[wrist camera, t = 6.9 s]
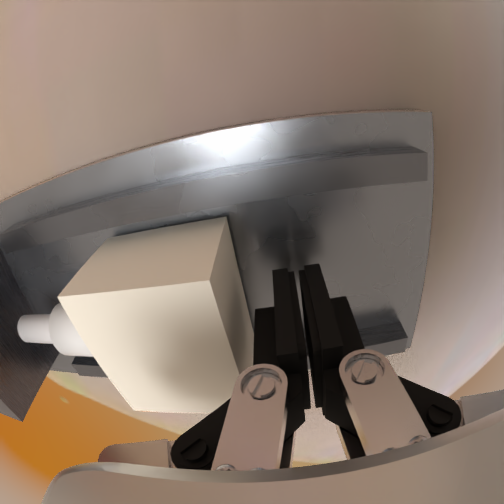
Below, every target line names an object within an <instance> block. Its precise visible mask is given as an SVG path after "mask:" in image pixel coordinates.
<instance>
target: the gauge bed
mask: <svg viewBox="0 0 504 504" xmlns="http://www.w3.org/2000/svg"><path fill="white" fill-rule="evenodd" d="M433 183H434V143H433V121H432V112H428V111H422V110H365V111H347V112H333V113H321V114H311V115H302V116H294V117H286V118H278V119H271V120H264V121H258V122H252V123H246V124H240V125H235V126H229V127H224V128H219V129H214V130H209V131H205V132H200V133H196V134H191V135H187V136H183V137H179V138H175V139H171V140H167V141H163V142H159V143H155V144H152V145H148V146H144V147H141V148H138V149H134V150H131V151H127V152H124V153H121V154H118V155H115V156H111V157H108V158H105V159H102V160H99V161H96V162H94V163H91V164H88V165H85V166H82V167H80V168H77V169H74V170H71V171H69V172H66V173H64V174H61V175H58V176H56V177H53V178H51V179H49V180H46V181H44V182H41V183H39V184H37V185H34V186H32V187H30V188H27V189H25V190H23V191H21V192H19V193H16V194H14V195H12V196H10V197H8V198H6V199H4V200H2V201H0V413H2V414H4V415H7V416H9V417H12V418H14V419H17V420H19V421H22V422H23V420H24V418H25V415H26V414H27V411H28V409H29V408H30V406H31V404H32V402H33V400H34V398H35V396H36V394H37V392H38V390H39V388H40V386H41V385H42V383H43V381H44V379H45V377H46V375H47V374H48V372H49V370H54V371H62V372H71V373H78V374H79V375H82V376H93V377H99V378H108V376H107V375H106V374H105V372H104V371H103V370H102V368H101V367H100V365H99V364H98V362H97V361H96V360H95V358H94V357H88V356H69V355H63V354H61V353H60V352H59V351H58V350H57V349H56V348H55V346H54V345H53V344H47V343H30V342H25V341H23V340H22V339H21V338H20V336H19V334H18V329H17V325H18V321H19V319H20V317H21V316H23V315H36V314H51V312H52V310H53V308H54V307H55V306H56V305H57V304H59V303H60V301H59V299H58V295H59V294H60V293H61V292H62V290H63V289H64V288H65V287H66V285H67V284H68V283H69V282H70V281H71V279H72V278H73V277H74V276H75V275H76V273H77V272H78V271H79V270H80V269H81V267H82V266H83V265H84V264H85V263H86V262H87V261H88V259H89V258H90V257H91V256H92V255H93V254H94V253H95V251H96V250H97V249H98V248H99V247H100V246H101V245H102V244H103V243H104V241H105V240H106V239H107V238H111V237H116V236H121V235H126V234H131V233H136V232H141V231H147V230H152V229H157V228H163V227H168V226H174V225H179V224H185V223H191V222H197V221H202V220H208V219H214V218H220V217H227V222H228V226H229V230H230V235H231V239H232V244H233V248H234V252H235V257H236V261H237V265H238V269H239V274H240V278H241V282H242V286H243V291H244V295H245V299H246V303H247V307H248V312H249V316H250V320H251V324H252V328H253V332H254V317H255V309H258V308H266V307H273V306H274V294H273V276H272V270H276V269H283V268H287V269H288V272H290V271H294V275H295V280H296V286H297V293H298V299H299V305H300V311H301V317H302V324H303V330H304V337H305V344H306V352H307V363H308V370H310V363H309V356H308V349H307V342H306V336H305V328H304V318H303V308H302V298H301V289H300V280H299V270H304V265H310V264H317V263H319V264H320V267H321V271H322V274H323V277H324V280H325V283H326V287H327V290H328V293H329V297H330V298H335V297H342V296H346V297H347V299H348V302H349V305H350V307H351V310H352V313H353V316H354V319H355V321H356V324H357V327H358V330H359V333H360V336H361V339H362V342H363V345H364V348H365V349H371V350H375V351H378V352H380V353H381V354H383V355H384V356H385V357H386V356H391V355H395V354H396V353H401V352H405V349H407V348H410V346H411V342H412V338H413V334H414V330H415V325H416V321H417V316H418V311H419V306H420V301H421V296H422V290H423V285H424V278H425V272H426V265H427V258H428V250H429V241H430V231H431V220H432V206H433Z"/></svg>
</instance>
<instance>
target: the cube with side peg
mask: <svg viewBox="0 0 504 504" xmlns="http://www.w3.org/2000/svg"><path fill="white" fill-rule="evenodd" d="M58 299H59V301H60V303H59V304H57V305H56V306H55V307H54V308H53V310H52V312H51V314H36V315H23V316H21V317H20V319H19V321H18V325H17V329H18V334H19V336H20V338H21V339H22V340H23V341H25V342H30V343H47V344H53V345H54V346H55V348H56V349H57V350H58V351H59V352H60V353H61V354H63V355H69V356H88V357H94V358H95V360H96V361H97V362H98V364H99V365H100V367H101V368H102V370H103V371H104V372H105V374H106V375H107V376H108V378H109V379H110V381H111V382H112V383H113V385H114V386H115V387H116V389H117V390H118V391H119V392H120V394H121V395H122V396H123V398H124V399H125V400H126V401H127V403H128V404H129V405H130V406H131V407H132V409H133V410H136V411H149V412H168V413H212V412H213V411H215V410H216V409H217V408H218V407H220V406H221V405H222V404H224V403H225V402H226V401H227V400H229V399H230V398H231V396H232V392H233V388H234V385H235V382H236V380H237V377H238V376H239V375H240V374H241V373H242V372H243V371H244V370H245V369H247V368H249V367H251V366H253V350H254V332H253V328H252V324H251V320H250V316H249V312H248V307H247V303H246V299H245V295H244V291H243V286H242V282H241V278H240V274H239V269H238V265H237V261H236V257H235V252H234V248H233V244H232V239H231V235H230V230H229V226H228V222H227V217H220V218H214V219H208V220H202V221H197V222H191V223H185V224H179V225H174V226H168V227H163V228H157V229H152V230H147V231H141V232H136V233H131V234H126V235H121V236H116V237H111V238H107V239H106V240H105V241H104V243H103V244H102V245H101V246H100V247H99V248H98V249H97V250H96V251H95V253H94V254H93V255H92V256H91V257H90V258H89V259H88V261H87V262H86V263H85V264H84V265H83V266H82V267H81V269H80V270H79V271H78V272H77V273H76V275H75V276H74V277H73V278H72V279H71V281H70V282H69V283H68V284H67V285H66V287H65V288H64V289H63V290H62V292H61V293H60V294H59V295H58Z"/></svg>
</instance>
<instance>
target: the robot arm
mask: <svg viewBox="0 0 504 504" xmlns="http://www.w3.org/2000/svg"><path fill="white" fill-rule="evenodd" d="M272 276H273V294H274V306H273V307H266V308H258V309H255V317H254V350H253V366H251V367H249V368H247V369H245V370H244V371H243V372H242V373H241V374H240V375H239V376H238V377H237V380H236V382H235V385H234V388H233V392H232V396H231V398H230V399H229V400H227V401H226V402H225V403H224V404H222V405H221V406H220V407H218V408H217V409H216V410H215V411H213V412H212V413H211V414H209V415H208V416H207V417H205V418H204V419H203V420H201V421H200V422H199V423H197V424H196V425H195V426H193V427H192V428H191V429H189V430H188V431H186V432H185V433H184V434H182V435H181V436H180V437H179V438H178V439H177V440H175V441H168V440H167V439H163V440H155V441H148V442H138V443H127V444H114V445H111V446H108V447H106V448H105V449H104V450H103V451H102V452H101V454H100V455H99V459H98V462H94V463H85V464H80V465H76V466H72V467H69V468H67V469H64V470H63V471H61V472H59V473H58V474H57V475H56V476H55V477H54V479H53V480H52V482H51V483H50V485H49V487H48V489H47V491H46V493H45V495H44V498H43V501H42V503H41V504H504V390H499V391H494V392H489V393H483V394H477V395H471V396H464V397H460V399H459V400H455V401H454V400H452V399H451V398H449V397H447V396H444V395H442V394H440V393H437V392H435V391H432V390H430V389H428V388H425V387H423V386H420V385H418V384H416V383H413V382H411V381H409V380H406V379H404V378H402V377H400V376H397V374H396V373H395V371H394V369H393V367H392V366H391V364H390V362H389V361H388V359H387V358H386V357H385V356H384V355H383V354H381V353H380V352H378V351H375V350H371V349H365V348H364V345H363V342H362V339H361V336H360V333H359V330H358V327H357V324H356V321H355V319H354V316H353V313H352V310H351V307H350V305H349V302H348V299H347V297H346V296H342V297H335V298H330V297H329V293H328V290H327V287H326V283H325V280H324V277H323V274H322V271H321V267H320V264H319V263H317V264H310V265H304V270H299V280H300V289H301V298H302V308H303V318H304V328H305V336H306V342H307V349H308V356H309V363H310V370H311V377H312V384H313V391H314V399H315V406H316V408H318V407H322V412H323V415H325V418H326V419H328V420H329V421H331V422H333V423H335V424H336V430H337V433H338V435H339V438H340V441H341V444H342V447H343V450H344V453H345V455H346V458H347V460H344V461H339V462H333V463H327V464H320V465H312V466H304V467H295V468H292V461H293V453H294V445H295V437H296V430H297V429H298V428H299V427H300V426H301V425H302V424H303V423H304V422H305V413H304V409H311V405H310V390H309V376H308V363H307V352H306V344H305V337H304V330H303V324H302V317H301V311H300V305H299V299H298V293H297V286H296V280H295V275H294V271H290V272H288V269H287V268H283V269H276V270H272Z"/></svg>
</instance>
